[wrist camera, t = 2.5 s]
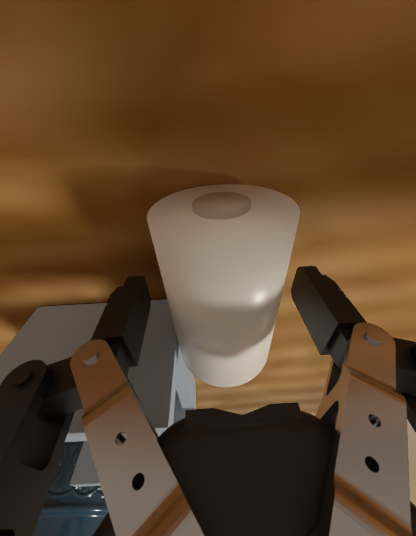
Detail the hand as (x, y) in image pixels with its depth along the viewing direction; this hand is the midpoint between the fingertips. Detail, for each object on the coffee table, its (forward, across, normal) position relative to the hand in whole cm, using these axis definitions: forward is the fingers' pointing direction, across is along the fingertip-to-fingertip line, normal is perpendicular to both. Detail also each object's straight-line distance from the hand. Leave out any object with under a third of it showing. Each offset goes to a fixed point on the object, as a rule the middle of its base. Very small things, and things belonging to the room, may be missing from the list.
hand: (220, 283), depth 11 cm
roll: (+2, +1, 0) cm, 2 cm away
